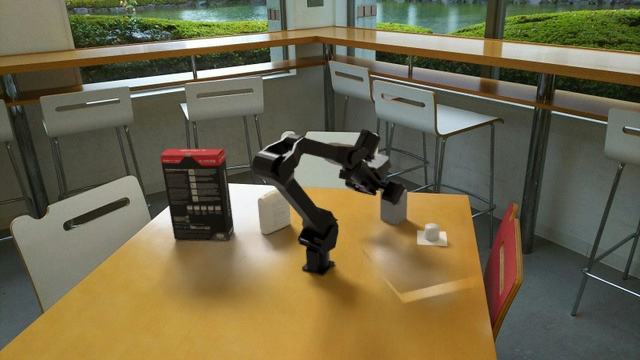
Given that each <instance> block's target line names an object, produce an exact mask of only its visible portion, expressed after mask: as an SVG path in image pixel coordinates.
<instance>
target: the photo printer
mask: <svg viewBox="0 0 640 360" xmlns="http://www.w3.org/2000/svg"><path fill="white" fill-rule="evenodd" d="M257 207H258V208H257V209H258V220H259V229H260V232H261V233H262V234H264V235H268V234H272V233H274V232H276V231H279V230H281V229H283V228H286V227H288V226H290V225H291V224H292V223H291V220H292V219H291V205H290V204H289V202H288V201H287V200H286V199H285V198H284V197H283V195H282V194H281V193H280V192H279V191H278V190H277V188H275V189H272V190H269V191H267V192H265V193H264V194H262V195H261V196H260V197H259V198H258V199H257Z"/></svg>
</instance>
